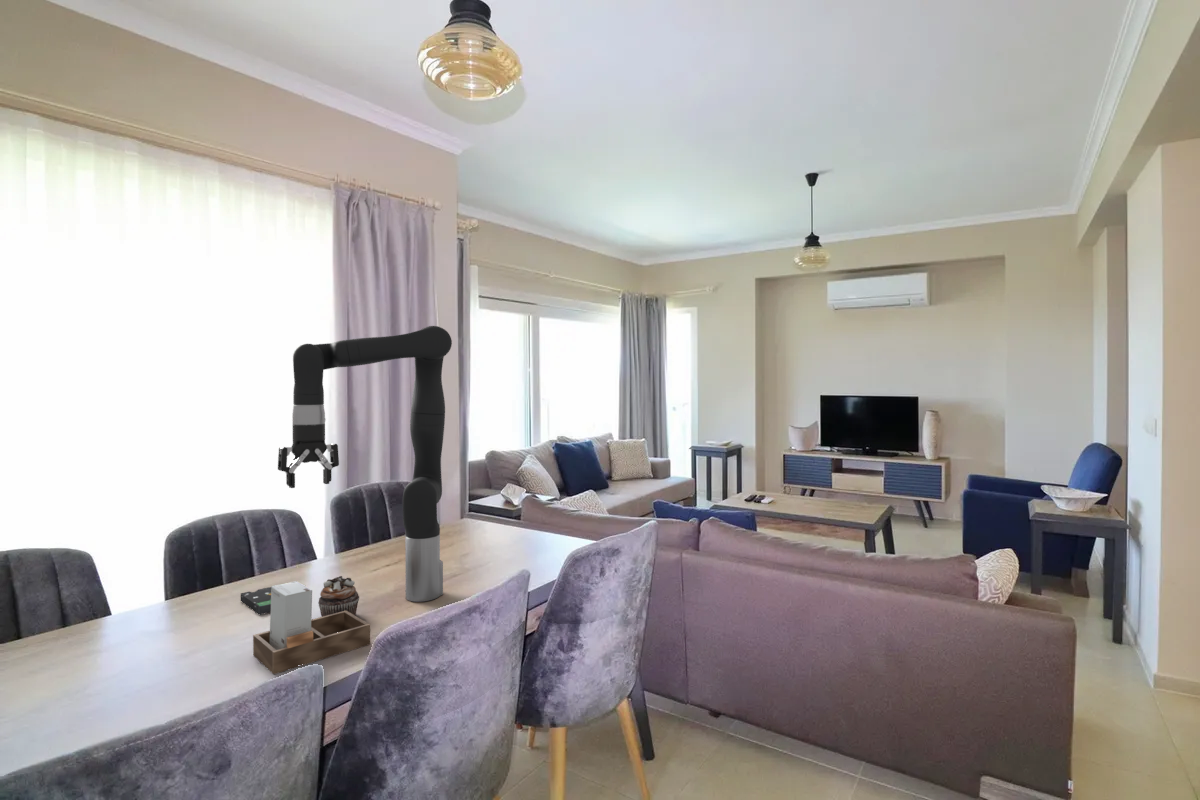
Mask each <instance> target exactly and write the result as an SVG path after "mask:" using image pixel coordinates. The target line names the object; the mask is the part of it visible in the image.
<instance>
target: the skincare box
mask: <svg viewBox="0 0 1200 800" xmlns="http://www.w3.org/2000/svg"><path fill="white" fill-rule="evenodd" d="M270 587H271V612H270V613H269V614H270V617H269V622H270V623H269V631H270V643H269V644H270V645H271V646H272V647H273V648H275V649H276V650H279V649H282V648H286V647H287V637H291V636H294V635H298V634H301V633H305V632H309V631H311V620H312V608H313V607H312V606H313V590H312V589H311V588H310V587H307V586H306V585H305V584H302V583H301V582H299V581H297V580H296V581H295V580H294V581H289V582H286V583H282V584H275V585H271V586H270Z"/></svg>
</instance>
